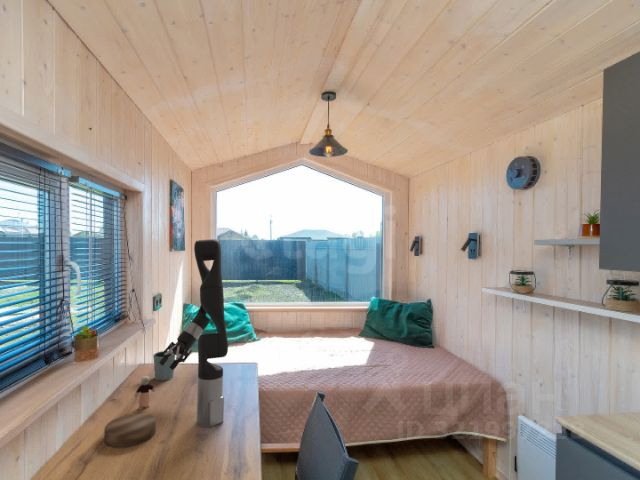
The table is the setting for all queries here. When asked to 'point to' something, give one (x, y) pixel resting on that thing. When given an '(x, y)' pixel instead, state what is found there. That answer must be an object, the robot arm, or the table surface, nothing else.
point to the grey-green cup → (163, 367)
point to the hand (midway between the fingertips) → (165, 366)
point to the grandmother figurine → (144, 393)
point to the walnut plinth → (129, 430)
